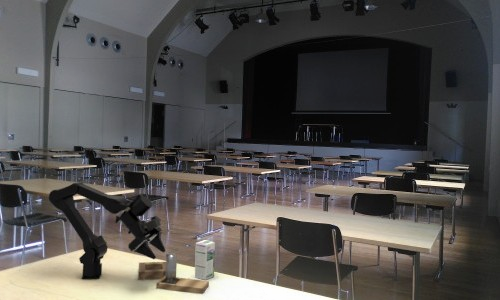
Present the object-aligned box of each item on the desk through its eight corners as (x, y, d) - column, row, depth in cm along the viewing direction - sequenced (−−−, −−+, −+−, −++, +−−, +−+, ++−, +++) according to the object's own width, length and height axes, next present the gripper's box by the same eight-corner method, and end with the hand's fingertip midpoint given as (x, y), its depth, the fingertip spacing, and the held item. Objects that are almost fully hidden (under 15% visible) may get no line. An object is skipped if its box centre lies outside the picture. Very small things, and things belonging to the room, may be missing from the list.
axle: (165, 288, 158) (166, 256, 157) (164, 284, 162) (165, 253, 161) (176, 287, 159) (177, 256, 158) (175, 283, 163) (176, 253, 162)
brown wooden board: (156, 288, 157) (156, 283, 157) (164, 281, 165) (164, 275, 165) (202, 293, 154) (202, 288, 153) (208, 286, 161) (208, 281, 161)
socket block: (138, 279, 165) (138, 272, 165) (138, 269, 177) (138, 262, 176) (169, 278, 168) (169, 271, 168) (167, 268, 179) (167, 261, 179)
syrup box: (205, 280, 167) (207, 244, 167) (194, 277, 170) (195, 241, 170) (214, 276, 172) (215, 241, 171) (202, 273, 175) (204, 239, 175)
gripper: (137, 215, 152) (165, 248, 150) (158, 206, 170) (183, 235, 168) (116, 234, 153) (143, 267, 152) (139, 224, 172) (164, 253, 170)
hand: (160, 254), depth 160 cm, fingers open, 9 cm apart
